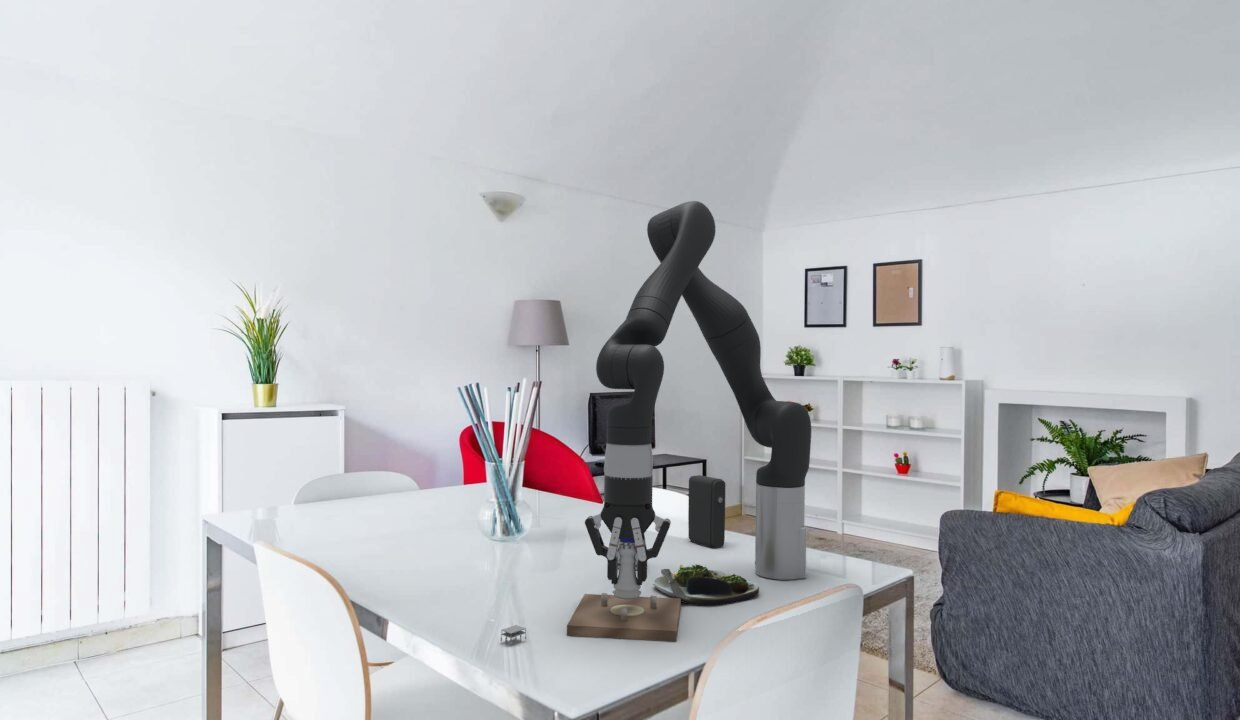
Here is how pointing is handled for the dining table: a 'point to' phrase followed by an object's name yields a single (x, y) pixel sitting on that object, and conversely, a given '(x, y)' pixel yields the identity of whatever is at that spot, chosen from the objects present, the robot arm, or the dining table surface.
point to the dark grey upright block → (706, 511)
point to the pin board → (626, 617)
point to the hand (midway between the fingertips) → (626, 582)
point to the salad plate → (705, 586)
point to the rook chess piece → (627, 573)
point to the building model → (513, 633)
